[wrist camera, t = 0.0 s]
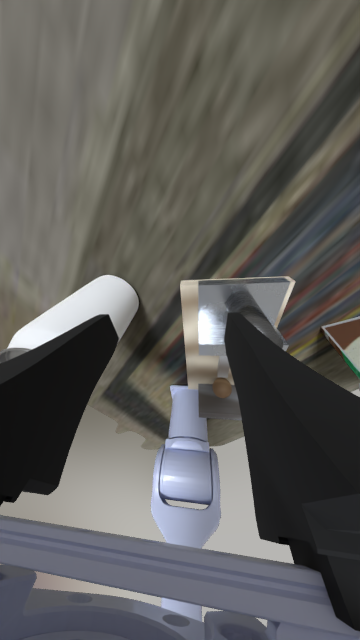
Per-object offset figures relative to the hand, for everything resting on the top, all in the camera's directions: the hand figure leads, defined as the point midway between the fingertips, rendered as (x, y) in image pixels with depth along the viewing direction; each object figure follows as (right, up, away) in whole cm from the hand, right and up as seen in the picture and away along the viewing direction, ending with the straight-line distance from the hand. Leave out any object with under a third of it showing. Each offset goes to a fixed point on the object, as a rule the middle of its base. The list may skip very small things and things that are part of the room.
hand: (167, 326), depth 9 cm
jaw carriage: (+7, +2, +7) cm, 10 cm away
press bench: (+8, -4, +14) cm, 17 cm away
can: (-8, +4, +11) cm, 14 cm away
